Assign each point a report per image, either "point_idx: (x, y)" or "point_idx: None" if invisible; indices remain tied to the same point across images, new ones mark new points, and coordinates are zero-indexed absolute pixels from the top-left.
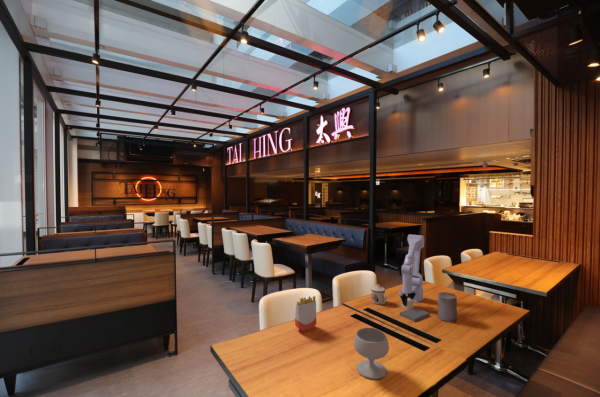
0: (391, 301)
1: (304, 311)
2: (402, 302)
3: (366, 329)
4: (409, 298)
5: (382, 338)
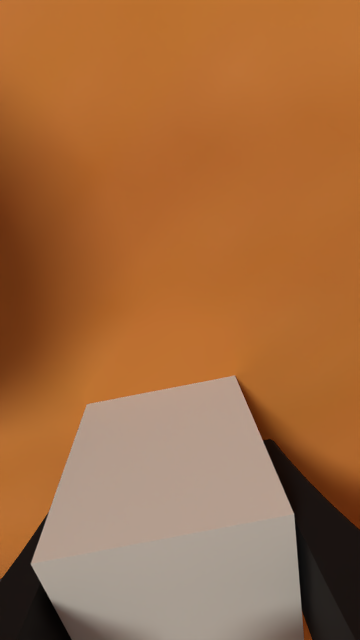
0: (19, 75)
1: None
2: (39, 528)
3: None
4: (277, 600)
5: None
